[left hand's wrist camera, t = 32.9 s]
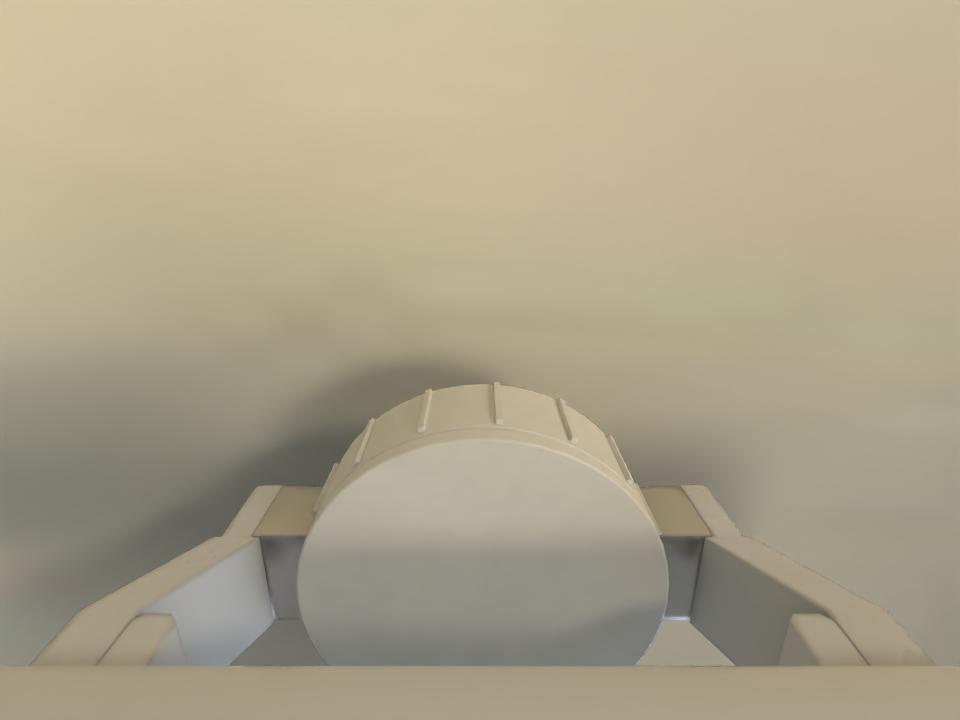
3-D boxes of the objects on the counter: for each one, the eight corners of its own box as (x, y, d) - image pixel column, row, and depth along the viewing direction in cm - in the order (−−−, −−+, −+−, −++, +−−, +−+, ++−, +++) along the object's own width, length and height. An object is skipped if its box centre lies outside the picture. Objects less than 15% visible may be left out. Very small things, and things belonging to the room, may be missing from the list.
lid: (634, 362, 9) (675, 416, 7) (637, 624, 11) (669, 716, 10) (294, 400, 9) (249, 460, 8) (359, 649, 12) (337, 744, 10)
